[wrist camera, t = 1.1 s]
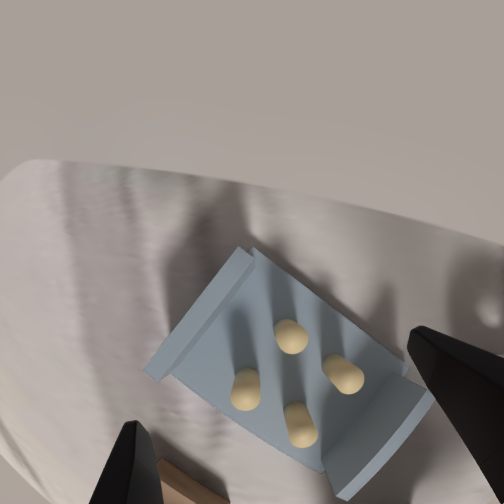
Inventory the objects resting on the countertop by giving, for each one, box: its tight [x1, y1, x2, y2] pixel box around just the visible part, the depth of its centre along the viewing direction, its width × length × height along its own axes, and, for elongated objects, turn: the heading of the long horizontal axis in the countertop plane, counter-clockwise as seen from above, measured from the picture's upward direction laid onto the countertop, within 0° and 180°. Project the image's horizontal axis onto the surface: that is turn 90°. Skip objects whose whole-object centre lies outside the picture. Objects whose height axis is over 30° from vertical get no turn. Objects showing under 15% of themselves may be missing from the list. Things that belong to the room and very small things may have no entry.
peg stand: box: [143, 246, 436, 502], centre depth 17 cm, size 10×14×6 cm
